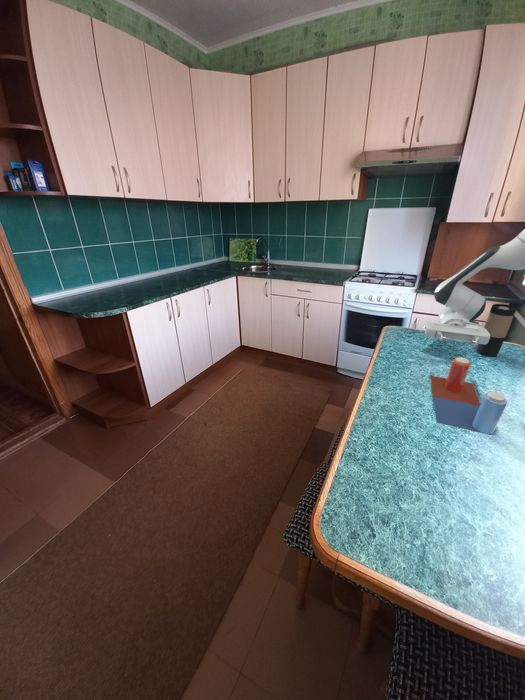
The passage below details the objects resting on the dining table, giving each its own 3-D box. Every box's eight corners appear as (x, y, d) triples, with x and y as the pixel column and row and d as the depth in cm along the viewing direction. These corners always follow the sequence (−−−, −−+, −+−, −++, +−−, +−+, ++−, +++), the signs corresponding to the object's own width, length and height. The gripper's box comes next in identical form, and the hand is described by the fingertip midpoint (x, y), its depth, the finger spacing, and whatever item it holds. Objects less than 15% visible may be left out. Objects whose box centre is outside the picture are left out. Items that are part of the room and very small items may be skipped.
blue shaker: (491, 424, 81) (505, 392, 76) (496, 436, 77) (511, 403, 72) (470, 419, 83) (483, 388, 78) (473, 431, 79) (487, 399, 74)
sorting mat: (472, 384, 100) (472, 383, 100) (490, 436, 78) (491, 435, 78) (429, 376, 105) (430, 375, 104) (436, 424, 83) (436, 422, 82)
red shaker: (460, 385, 98) (470, 357, 93) (462, 393, 94) (473, 365, 89) (443, 382, 100) (452, 355, 95) (445, 390, 96) (454, 362, 91)
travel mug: (472, 352, 120) (489, 306, 111) (479, 347, 125) (495, 302, 115) (494, 359, 115) (513, 311, 106) (500, 353, 119) (519, 307, 110)
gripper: (425, 316, 115) (427, 329, 104) (486, 323, 108) (496, 337, 97) (421, 331, 118) (423, 345, 107) (481, 338, 111) (489, 354, 99)
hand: (458, 341), depth 102 cm, fingers open, 8 cm apart
